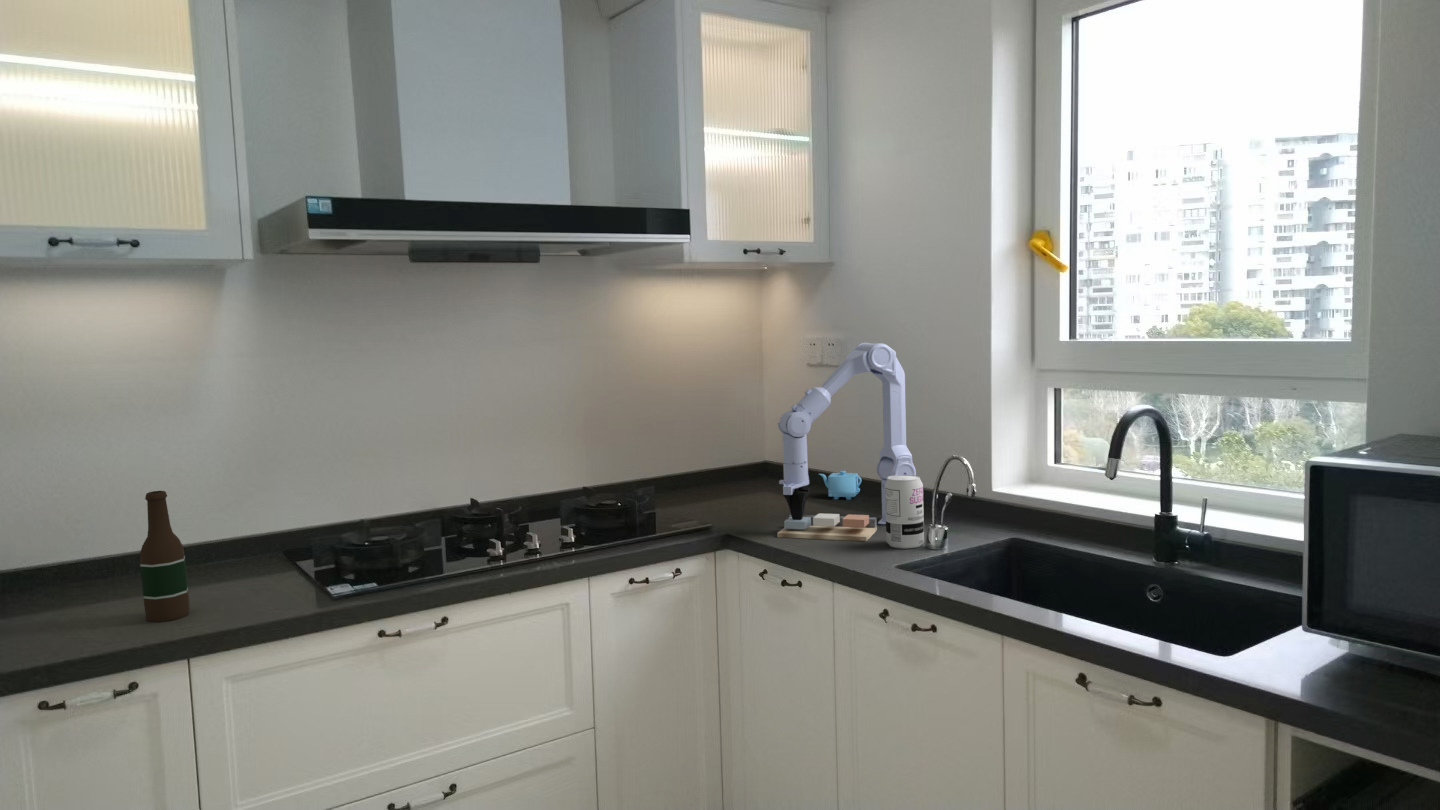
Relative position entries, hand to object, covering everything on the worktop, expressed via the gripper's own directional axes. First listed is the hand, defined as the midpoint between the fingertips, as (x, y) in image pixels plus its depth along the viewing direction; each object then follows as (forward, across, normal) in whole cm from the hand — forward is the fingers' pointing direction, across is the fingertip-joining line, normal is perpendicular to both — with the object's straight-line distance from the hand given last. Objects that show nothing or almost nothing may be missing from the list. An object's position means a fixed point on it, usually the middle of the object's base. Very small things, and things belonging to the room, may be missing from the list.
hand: (797, 519), depth 235 cm
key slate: (+2, 0, 0) cm, 2 cm away
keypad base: (+3, 0, +7) cm, 8 cm away
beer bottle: (+3, +88, -98) cm, 132 cm away
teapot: (+3, -42, 0) cm, 43 cm away
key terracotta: (+1, 0, +14) cm, 14 cm away
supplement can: (+3, +6, +26) cm, 27 cm away
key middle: (+1, 0, +7) cm, 7 cm away
